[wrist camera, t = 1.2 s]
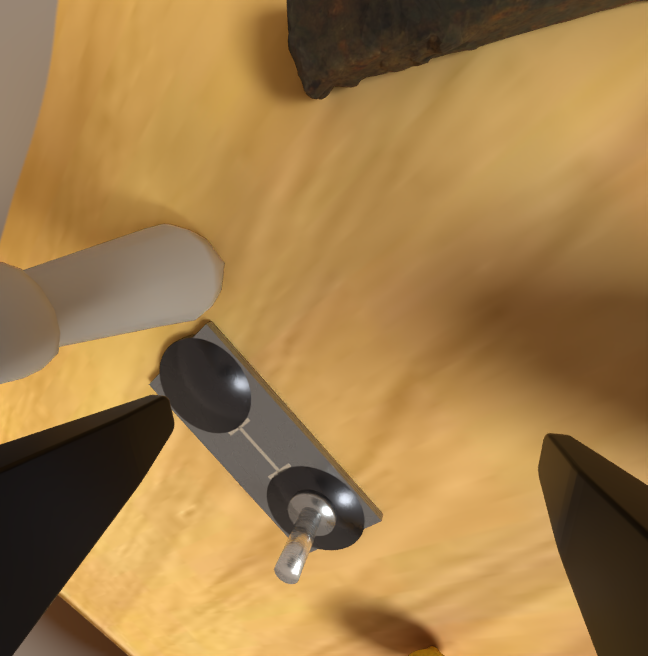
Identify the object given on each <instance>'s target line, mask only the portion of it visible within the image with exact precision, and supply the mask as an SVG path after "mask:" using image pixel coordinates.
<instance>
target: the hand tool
mask: <svg viewBox="0 0 648 656" xmlns="http://www.w3.org/2000/svg"><path fill="white" fill-rule="evenodd" d="M635 1H643V0H287V17H288V31H289V35H288V46H289V51H290V53H291V55H292V57H293V59H294V62H295V65H296V67H297V71H298V76H299V77H300V79H301V81H302V84H303V88H304V91H305V93H306V94H307V95H308V96H309V97H311V98H312V99H323V98H325V97H326V96H327V95H328V94H329V93H330V91H331V90H332V88H333V87H334V86H342V87H355V86H357V85H358V84H359V82H360V81H361V80H362V79H364V78H366V77H370V76H376V75H380V74H384V73H387V72H397V71H402V70H405V69H407V68H410V67H412V66H419V65H422V64H425V63H428V62H429V60H430V59H432V58H436V57H439V56H443V55H446V54H450V53H454V52H459V51H465V50H474V49H476V48H478V47H479V46H483V45H486V44H489V43H492V42H496V41H499V40H502V39H505V38H509V37H512V36H515V35H519V34H522V33H526V32H529V31H533V30H536V29H540V28H543V27H547V26H550V25H553V24H557V23H562V22H566V21H569V20H573V19H576V18H579V17H583V16H586V15H589V14H592V13H595V12H599V11H603V10H608V9H612V8H615V7H619V6H622V5H625V4H629V3H632V2H635Z"/></svg>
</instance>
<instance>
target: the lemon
mask: <svg viewBox="0 0 648 656" xmlns="http://www.w3.org/2000/svg"><path fill="white" fill-rule="evenodd" d="M408 656H444V655H443V654H441V653H440V652H439V650H438V649H437V648H436V647H434V646H430V647H429V648H427V649H421V650H418V651H414V652H413V653H411V654H410V655H408Z"/></svg>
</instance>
